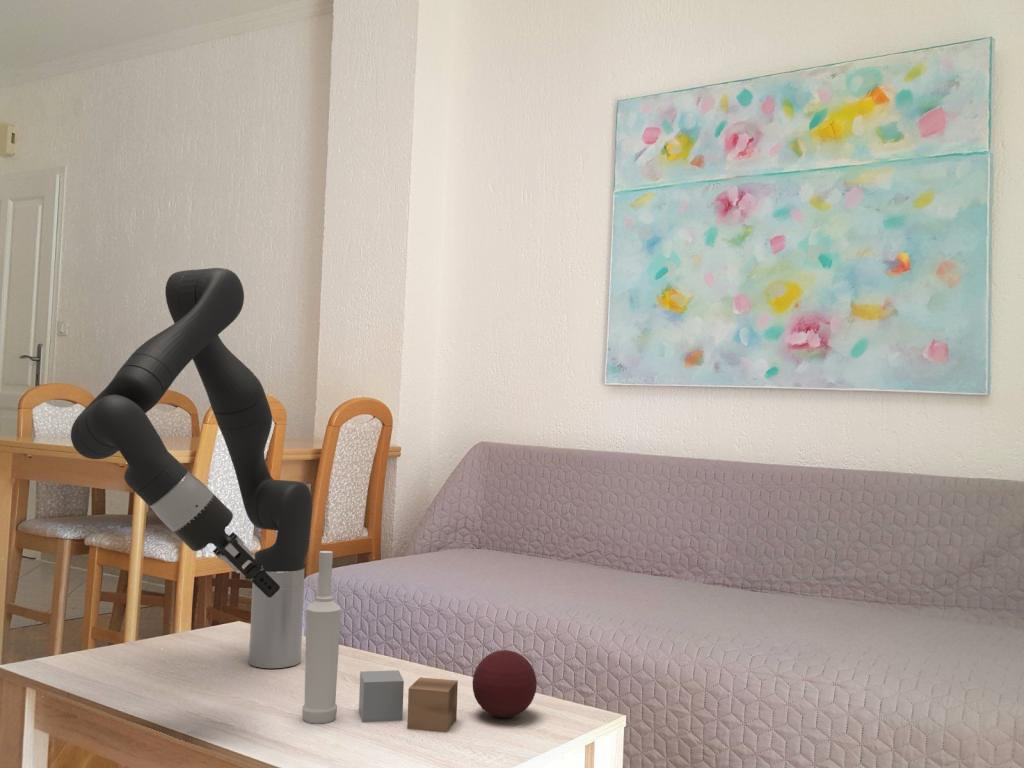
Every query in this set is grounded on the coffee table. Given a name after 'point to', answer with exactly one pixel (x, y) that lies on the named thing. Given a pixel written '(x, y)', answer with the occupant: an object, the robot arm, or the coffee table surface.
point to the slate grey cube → (381, 696)
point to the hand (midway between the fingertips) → (269, 587)
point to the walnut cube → (432, 704)
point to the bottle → (322, 649)
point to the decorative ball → (504, 684)
